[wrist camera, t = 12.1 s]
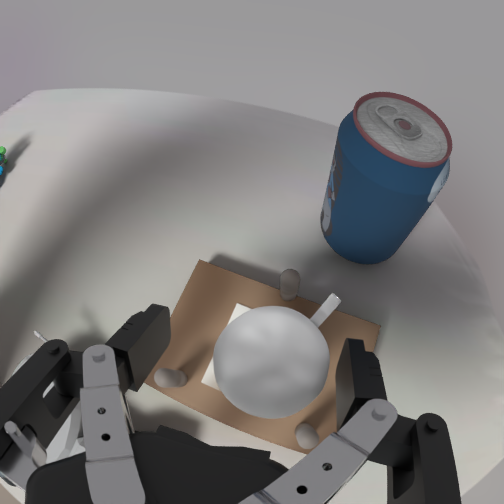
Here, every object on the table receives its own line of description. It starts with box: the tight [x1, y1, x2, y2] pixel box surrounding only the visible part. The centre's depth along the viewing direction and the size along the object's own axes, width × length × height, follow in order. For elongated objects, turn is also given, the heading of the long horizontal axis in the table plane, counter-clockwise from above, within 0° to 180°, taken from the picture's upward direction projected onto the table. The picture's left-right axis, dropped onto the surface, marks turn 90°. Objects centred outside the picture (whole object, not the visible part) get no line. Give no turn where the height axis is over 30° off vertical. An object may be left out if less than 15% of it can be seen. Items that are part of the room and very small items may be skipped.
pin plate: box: [144, 259, 381, 454], centre depth 18 cm, size 14×11×4 cm
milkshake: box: [213, 293, 341, 419], centre depth 14 cm, size 5×5×10 cm
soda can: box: [321, 92, 452, 264], centre depth 18 cm, size 7×7×12 cm
